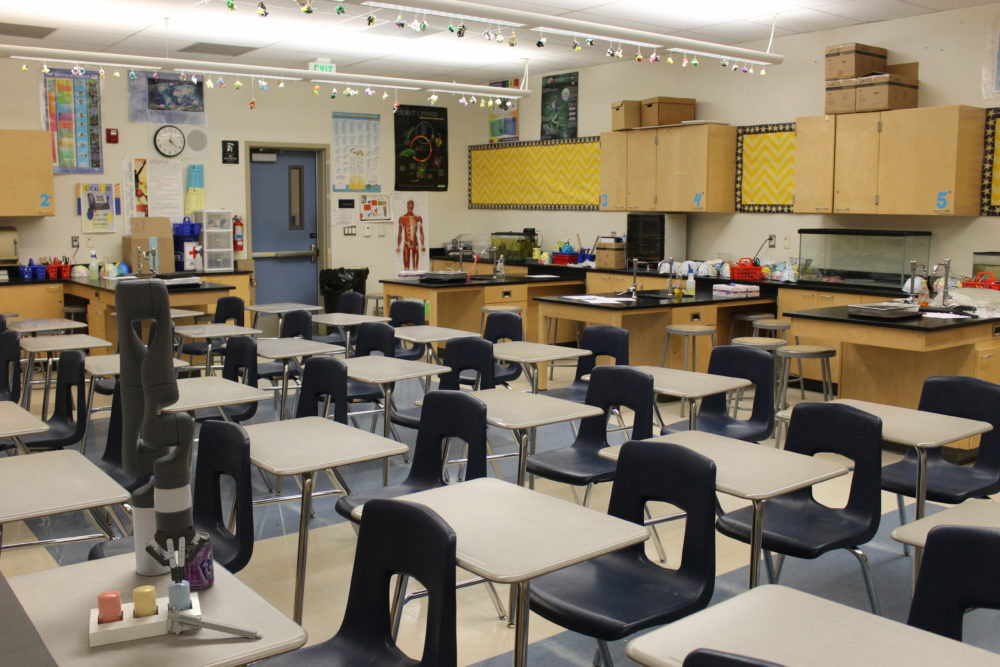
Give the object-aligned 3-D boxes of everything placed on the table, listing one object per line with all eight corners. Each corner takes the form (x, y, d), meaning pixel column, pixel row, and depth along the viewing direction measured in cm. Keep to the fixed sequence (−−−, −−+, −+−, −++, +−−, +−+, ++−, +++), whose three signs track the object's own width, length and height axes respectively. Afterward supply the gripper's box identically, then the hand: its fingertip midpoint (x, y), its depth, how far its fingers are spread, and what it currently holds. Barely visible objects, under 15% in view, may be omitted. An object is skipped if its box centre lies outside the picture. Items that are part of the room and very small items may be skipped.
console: (91, 622, 201) (90, 609, 201) (197, 604, 209) (197, 592, 209) (90, 647, 190) (89, 633, 190) (202, 627, 198) (201, 614, 198)
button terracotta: (99, 619, 198) (97, 592, 197) (121, 615, 200) (120, 589, 199) (99, 628, 194) (97, 601, 193) (122, 624, 196) (119, 597, 195)
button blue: (169, 608, 203) (167, 582, 202) (190, 604, 205) (188, 578, 204) (170, 616, 199) (168, 590, 198) (191, 612, 201) (189, 586, 200)
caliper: (167, 635, 195) (165, 607, 194) (169, 633, 196) (167, 605, 195) (261, 639, 193) (259, 610, 192) (262, 636, 194) (261, 608, 194)
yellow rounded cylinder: (134, 613, 201) (133, 587, 200) (156, 610, 202) (154, 584, 201) (135, 622, 197) (133, 595, 196) (157, 618, 198) (155, 592, 197)
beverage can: (194, 594, 215) (191, 544, 213) (176, 586, 219) (173, 538, 217) (220, 583, 221) (217, 535, 219) (202, 576, 225) (199, 529, 223)
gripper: (204, 496, 204) (208, 570, 207) (140, 504, 199) (145, 580, 202) (206, 506, 197) (211, 583, 200) (140, 514, 192) (146, 593, 195)
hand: (178, 581), depth 201 cm, fingers closed
